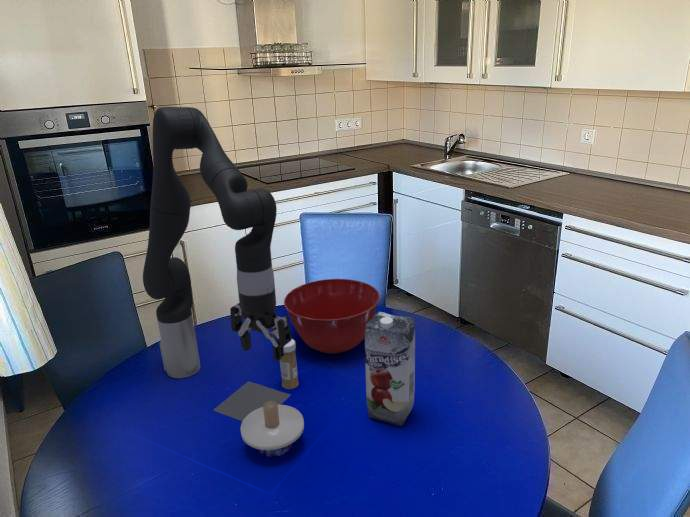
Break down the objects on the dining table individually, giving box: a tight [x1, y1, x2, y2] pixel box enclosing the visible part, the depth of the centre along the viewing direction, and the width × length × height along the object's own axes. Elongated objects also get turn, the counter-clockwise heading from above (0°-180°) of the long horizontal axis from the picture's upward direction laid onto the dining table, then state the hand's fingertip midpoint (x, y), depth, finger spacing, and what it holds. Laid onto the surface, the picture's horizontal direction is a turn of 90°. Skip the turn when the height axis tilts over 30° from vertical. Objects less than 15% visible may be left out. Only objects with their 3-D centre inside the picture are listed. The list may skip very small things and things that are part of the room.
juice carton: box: [364, 311, 416, 427], centre depth 125 cm, size 9×10×27 cm
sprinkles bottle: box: [279, 338, 299, 390], centre depth 140 cm, size 5×5×14 cm
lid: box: [240, 401, 305, 450], centre depth 118 cm, size 14×14×6 cm
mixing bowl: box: [283, 278, 381, 354], centre depth 161 cm, size 28×28×16 cm
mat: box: [212, 381, 292, 422], centre depth 136 cm, size 14×14×1 cm
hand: (262, 354), depth 115 cm, fingers open, 8 cm apart
